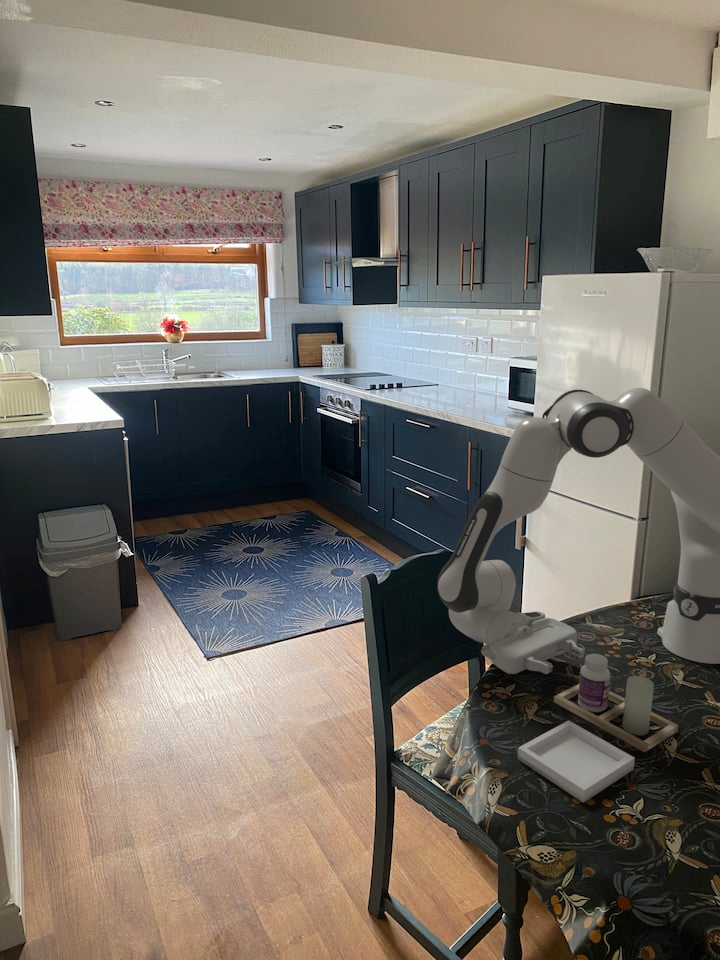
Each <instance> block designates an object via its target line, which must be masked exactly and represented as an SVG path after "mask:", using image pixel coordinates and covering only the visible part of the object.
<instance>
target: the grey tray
mask: <svg viewBox="0 0 720 960" xmlns="http://www.w3.org/2000/svg"><path fill="white" fill-rule="evenodd" d="M635 759H636V758H635V756H632V755H631V754H629V753H628V752H626V751H623V750H622V749H620V748H618V747H616V746H614V745H613V744H611V743H609V742H608V741H606V740H604V739H602V738H601V737H599V736H597V735H595V734H594V733H592V732H590V731H589V730H586V729H584V728H583V727H581V726H580V725H578V724H576V723H574V722H572V721H571V720H567V721H565V722H563V723H561V724H558V725H557V726H556V727H554V728H551V729H550V730H548V731H546V732H545V733H543V734H541V735H539V736H537V737H535V738H534V739H532V740H530V741H528V742H526V743H524V744H522V745H521V746H519V747H518V749H517V760H518V761H520V762H521V763H522V764H524V765H525V766H527V767H529V768H530V769H532V770H533V771H535V772H536V773H538V774H539V775H541V776H542V777H543V778H545V779H547V780H548V781H550V782H551V783H553V784H554V785H556V786H558V788H560V789H561V790H563V791H565V792H567V793H568V794H569V795H570V796H573V798H576V799H577V800H579V801H580V802H582V803H583V804H584V803H585V802H586V801H588V800H590V799H591V798H592V797H594V796H596V795H597V794H599V793H600V792H602V791H603V790H605V789H606V788H607V787H609V786H611V785H613V784H615V782H617V781H619V780H620V779H622V778H623V777H624V776H626V775H628V774H629V773H630V772H632V771H634V769H635V768H634V767H635Z"/></svg>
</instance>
